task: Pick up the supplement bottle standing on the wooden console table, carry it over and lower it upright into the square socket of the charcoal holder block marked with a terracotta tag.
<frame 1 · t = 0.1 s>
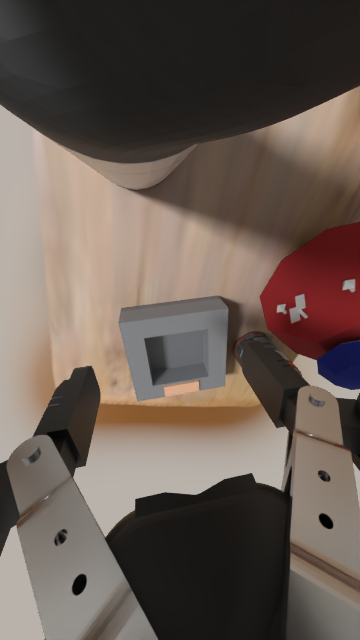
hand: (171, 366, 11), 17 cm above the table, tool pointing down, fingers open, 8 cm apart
socket holder: (174, 341, 32), on the table
alarm clock: (287, 268, 29), on the table
supplement bottle: (249, 345, 35), on the table
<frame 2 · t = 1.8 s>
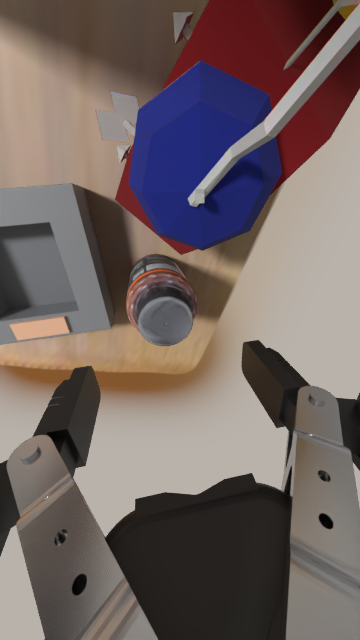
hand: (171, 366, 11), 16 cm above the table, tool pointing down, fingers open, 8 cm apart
socket holder: (38, 265, 22), on the table
alarm clock: (184, 147, 20), on the table
supplement bottle: (156, 278, 25), on the table
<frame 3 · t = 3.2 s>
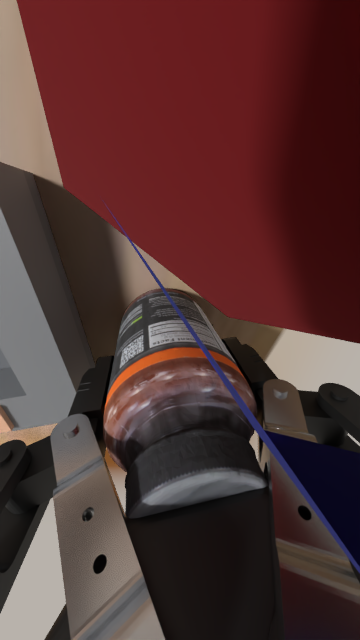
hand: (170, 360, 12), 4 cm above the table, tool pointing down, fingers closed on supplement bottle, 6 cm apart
alarm clock: (222, 99, 11), on the table
supplement bottle: (163, 323, 16), on the table, touching gripper
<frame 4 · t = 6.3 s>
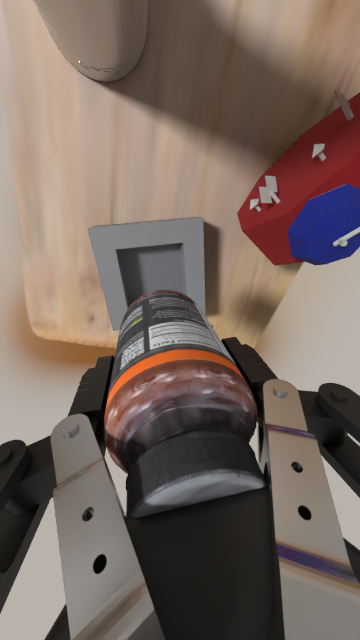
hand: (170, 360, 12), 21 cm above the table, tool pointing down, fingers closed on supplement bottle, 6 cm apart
socket holder: (153, 271, 31), on the table
alarm clock: (267, 189, 28), on the table
supplement bottle: (163, 324, 16), point 17 cm above the table, touching gripper
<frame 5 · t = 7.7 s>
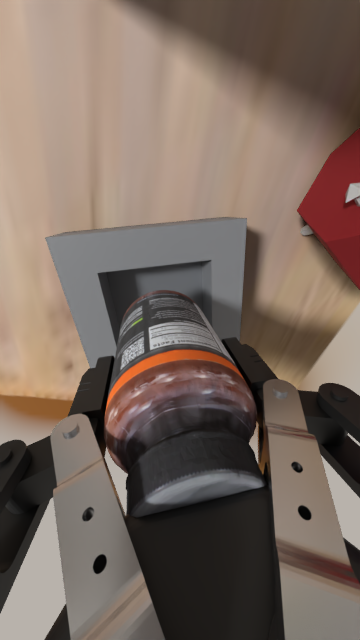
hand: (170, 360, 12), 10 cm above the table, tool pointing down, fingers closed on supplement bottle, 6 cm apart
socket holder: (159, 298, 20), on the table
alarm clock: (338, 172, 18), on the table
supplement bottle: (163, 324, 16), point 5 cm above the table, touching gripper
when the fingers open (7 cm above the table, at t = 9.2 s): supplement bottle drops 1 cm, resting on socket holder.
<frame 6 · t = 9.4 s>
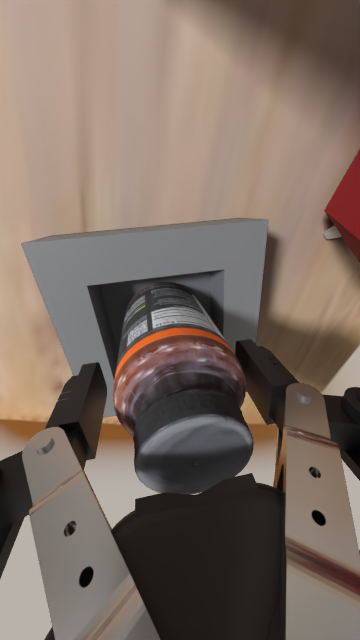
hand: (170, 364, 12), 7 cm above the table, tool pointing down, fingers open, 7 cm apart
socket holder: (160, 311, 18), on the table
supplement bottle: (163, 315, 17), point 1 cm above the table, touching socket holder
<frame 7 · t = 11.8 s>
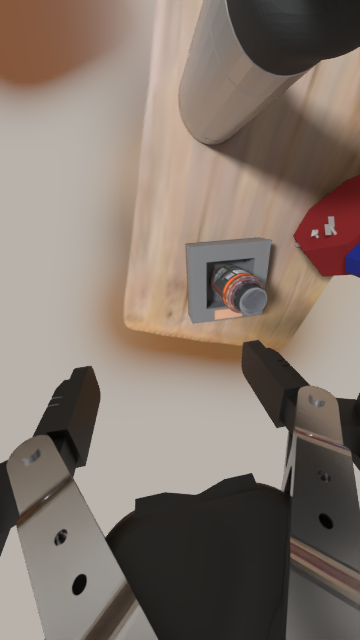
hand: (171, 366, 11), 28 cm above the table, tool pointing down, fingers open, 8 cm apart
socket holder: (221, 277, 39), on the table
alarm clock: (313, 217, 37), on the table
supplement bottle: (224, 279, 39), point 1 cm above the table, touching socket holder
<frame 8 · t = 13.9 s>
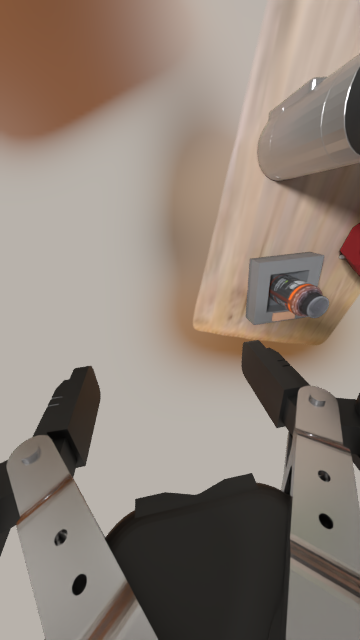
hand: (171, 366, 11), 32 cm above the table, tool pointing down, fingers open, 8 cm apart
socket holder: (276, 285, 47), on the table
alarm clock: (355, 233, 44), on the table
supplement bottle: (279, 286, 46), point 1 cm above the table, touching socket holder
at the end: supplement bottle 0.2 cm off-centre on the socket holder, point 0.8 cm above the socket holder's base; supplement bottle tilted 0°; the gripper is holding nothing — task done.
